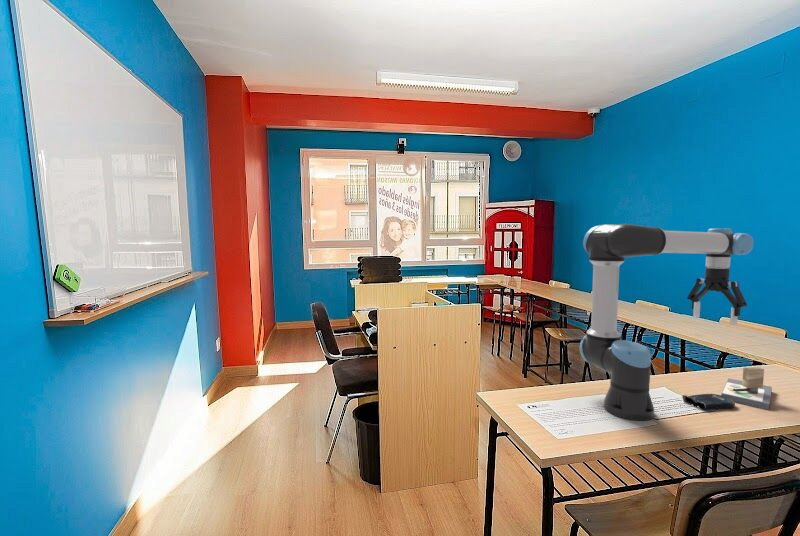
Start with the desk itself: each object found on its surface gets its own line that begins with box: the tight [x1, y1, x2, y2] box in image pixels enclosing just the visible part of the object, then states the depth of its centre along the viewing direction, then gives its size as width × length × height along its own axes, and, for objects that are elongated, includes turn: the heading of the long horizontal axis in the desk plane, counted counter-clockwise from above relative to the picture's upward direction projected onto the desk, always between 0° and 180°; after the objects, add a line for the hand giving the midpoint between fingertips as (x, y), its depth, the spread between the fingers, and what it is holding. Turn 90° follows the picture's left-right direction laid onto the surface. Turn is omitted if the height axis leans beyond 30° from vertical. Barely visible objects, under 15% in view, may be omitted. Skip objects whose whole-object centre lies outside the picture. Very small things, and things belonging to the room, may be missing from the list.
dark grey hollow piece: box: [681, 393, 736, 411], centre depth 141 cm, size 9×6×15 cm
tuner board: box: [720, 377, 773, 410], centre depth 149 cm, size 22×13×2 cm, turn 135°
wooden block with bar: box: [733, 366, 765, 394], centre depth 146 cm, size 3×10×9 cm, turn 94°
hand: (714, 320), depth 156 cm, fingers open, 13 cm apart
